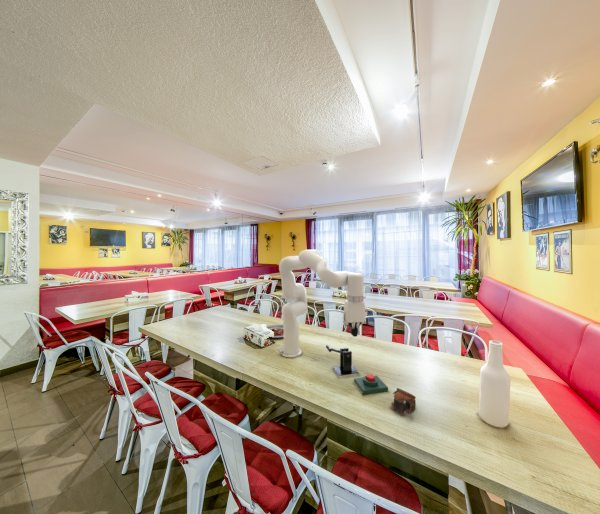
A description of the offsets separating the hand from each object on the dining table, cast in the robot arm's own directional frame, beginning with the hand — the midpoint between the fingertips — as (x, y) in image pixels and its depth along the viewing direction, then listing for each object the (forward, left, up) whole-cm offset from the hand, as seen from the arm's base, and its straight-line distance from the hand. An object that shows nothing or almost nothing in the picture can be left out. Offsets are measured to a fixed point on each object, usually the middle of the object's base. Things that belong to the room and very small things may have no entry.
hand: (354, 335), depth 117 cm
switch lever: (-6, +7, -12) cm, 15 cm away
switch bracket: (-1, +7, -22) cm, 23 cm away
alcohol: (+40, -37, -22) cm, 58 cm away
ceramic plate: (-30, +70, -22) cm, 80 cm away
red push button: (+5, -8, -19) cm, 21 cm away
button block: (+5, -8, -22) cm, 24 cm away
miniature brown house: (+11, -25, -22) cm, 35 cm away
